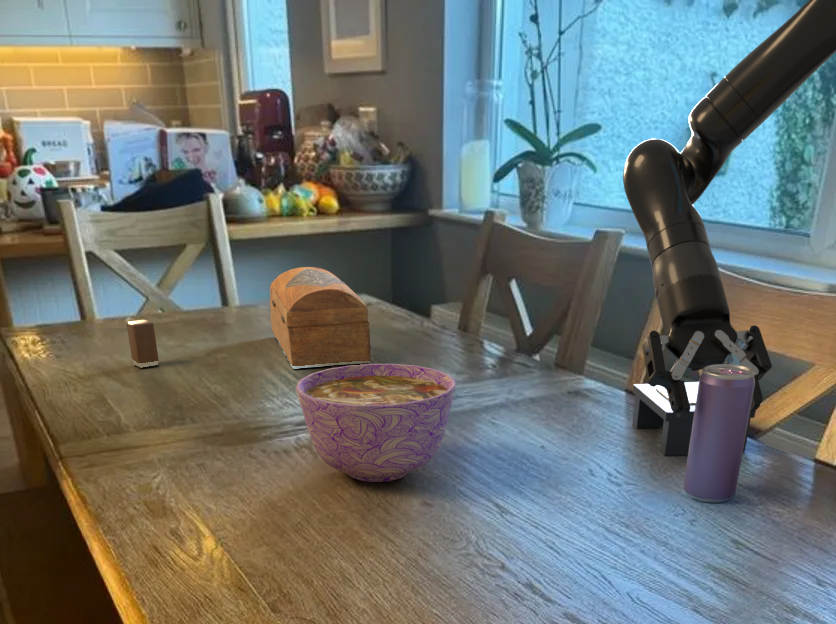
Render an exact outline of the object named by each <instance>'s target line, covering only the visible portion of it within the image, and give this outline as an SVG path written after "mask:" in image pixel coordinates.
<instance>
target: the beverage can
mask: <svg viewBox="0 0 836 624" xmlns="http://www.w3.org/2000/svg"><path fill="white" fill-rule="evenodd" d="M754 375H755V371H754V370H753V369H751V368H748V367H745V366H740V365H731V364H714V365H708V366H705V367H704V368H703V369H701V374H700V376H699V379H698V382H699V384H698V391H697V398H696V405H695V411H694V418H693V425H692V432H691V438H690V445H689V452H688V455H687V459H686V466H685V472H684V480H683V485H682V487H683V488H682V489H683V491H684V493H685V495H686V496H687V497H688V498H690V499H692V500H694V501H697V502H702V503H708V504H709V503H710V504H718V503H724V502H727V501H729V500H731V499H732V498H733V497H734V495H735V494H736V493H737V486H738V482H739V481H738V480H739V476H740V469H741V464H742V459H743V458H742V457H743V448H744V442H745V436H746V431H747V425H748V420H749V414H750V408H751V403H752V397H753V392H754V386H755V379H754Z"/></svg>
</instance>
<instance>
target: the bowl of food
mask: <svg viewBox="0 0 836 624" xmlns="http://www.w3.org/2000/svg"><path fill="white" fill-rule="evenodd" d="M456 381H457V380H456V379H455V378H454V377H452V376H451V375H449V374H448V373H446V372H443V371H441V370H438V369H435V368H431V367H425V366H419V365H414V364H413V365H412V364H400V363H399V364H398V363H370V364H360V365H346V366H336V367H331V368H327V369H323V370H320V371H317V372H312V373H310V374H308V375H306V376H304V377H303V378H301V379H299V380H298V382H297V384H296V385H295V390H296V391H295V392H296V394H297V397H298V401H299V404H300V408H301V410H302V413H303V417H304V421H305V424H306V427H307V431H308V432H309V433H308V434H309V436H310V439H311V441H312V445H313V447H314V449H315V451H316V453H317V455H319V457H320V458H321V459H322V460H323V462H324V463H325V464H326V465H328V466H329V467H331V468H333V469H335V470H336V471H339V472H341V473H343V474H346V475H348V476H349V477H350V478H352V479H355V480H358V481H361V482H369V483H370V482H371V483H382V482H391V481H396V480H400V479H402V478H404V477H406V476H407V475H408V474H409V473H412V472H414V471H416V470H418V469H420V468H421V467H423V466H425V465H427V464H428V463H429V462H430V461H431V460H432V459H433V458H434V456H435V455H436V454H437V452H438V451H439V450H440V448H441V446H442V443H443V438H444V435H445V432H446V428H447V424H448V420H449V416H450V412H451V408H452V403H453V400H454V396H455V392H456V387H457V386H456Z"/></svg>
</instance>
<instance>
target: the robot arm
mask: <svg viewBox="0 0 836 624" xmlns="http://www.w3.org/2000/svg"><path fill="white" fill-rule="evenodd" d="M835 54H836V0H808V1H806V3H804V5H802V6H801V7H800V8H799V9H798V10H797V11H796V12H795V13H794V14H793V15H792V16H791V17H789V18H788V19H787V20H786V21H785V22H784V23H783V24H781V26H780V27H778V28H777V29H776V30H775V31H774V32H773V33H771V34H770V35H769V36H768V37H766V39H764V40H763V41H762V42H760V44H758V45H757V46H756V47H755V48H754V49H753V50H751V52H749V53H748V54H747V55H746V56H745V57H744V58H743V59H742V60H740V62H739V63H737V64H736V65H735V66H734V67H733V68H732V69H731V70H730V71H729V72H728V73H727V74H726V75H725V76H724V77H723V78H722V79H721V80H720V81H719V82H718V83H716V85H714V86H713V88H712V89H711V90H710V91H709V92H708V93H707V94H706V95H705V96H704V97H703V98H702V99H701V100H700V101H698V103H697V104H696V105H695V106H694V107H693V108H692V110H691V112H690V114H689V115H688V124H689V128H690V131H691V135H690V136H691V137H690V138H689V140H688V141H687V143H686V144H685V146H684V148H683V149H682V150H681V152H679V150H678V149H677V148H676V147H675V146H674V145H673V144H672V143H670V142H669V141H667V140H664V139H661V138H649V139H647V140H646V139H645V140H644V141H641V142H640V143H639V144H637V145H636V146H635V147H634V148H632V150H631V152H630V153H629V154H628V156H627V158H626V160H625V163H624V166H623V174H622V184H623V190H624V193H625V196H626V199H627V201H628V204H629V206H630V208H631V211H632V213H633V215H634V218H635V221H636V222H637V225H638V226H639V229H640V231H641V232H642V235H643V238H644V240H645V245H646V250H647V255H648V258H649V263H650V267H651V272H652V282H653V284H652V285H653V290H654V296H655V298H656V303H657V306H658V310H659V314H660V318H661V322H662V326H663V331H664V334H665V335H663V334H661V335H660V333H659V332H658V331H657V330H651V331H650V332H649V333H648V335H647V336H646V338H645V340H644V341H643V343H642V345H641V348H642V354H643V361H644V367H645V373H646V377H647V379H646V380H647V384H649V385H650V386H653V387H654V386H657V385H659V386H662V387H664V388H665V389H666V390H667V394H668V398H669V401H670V406H671V410H672V411H673V413H676V415H677V417H678V418H680V417H685V416H686V415H687V414H688V412H689V411H690V403H689V399H688V395H687V391H686V387H685V380H682V378H683V376H684V375H685V372H686V370H687V369H690V370H691V372H696V371H702V369H703V368H704V367H705V366H708V365H714V364H731V365H740V366H745V367H748V368H751V369H753V370H754V371H755V375H754V379H755V386H754V392H753V397H752V403H751V408H750V413H754V412H755V411H756V412H757V410H758V409H759V408H760V407H761V404H762V403H763V399H764V396H763V393H762V389H761V386H760V385H761V384H760V380H762V379H763V377H764V376H765V375H766V374H767V373H768V372H769V371H770V370H772V368H773V364H772V362H771V358H770V356H769V353H768V350H767V347H766V344H765V341H764V337H763V334H762V332H761V329H760V327H759V326H758V325H755V324H753V325H750V327H749V328H748V329H746V330H739V331H736V329H735V328H734V327H733V326H732V324H731V314H730V309H729V308H730V307H729V304H728V299H727V296H726V293H725V288H724V285H723V281H722V277H721V274H720V273H721V272H720V270H719V267H718V263H717V261H716V258H715V256H714V254H713V252H712V248H711V244H710V241H709V237H708V233H707V229H706V227H705V223H704V221H703V218H702V216H701V214H700V212H699V211H698V210H697V209H696V208H695V206H694V204H695V203H696V202H697V201H698V200H699V199H700V197H701V196H702V195H704V193H705V191H706V190H707V188H708V187H709V186H710V184H711V183H712V181H713V180H714V178H715V177H716V176H717V174H718V173H719V172H720V170H721V169H722V167H723V166H724V164H725V163H726V161H727V160H728V158H729V157H730V155H731V154H732V152H733V151H734V150H735V149H736V148H737V147H739V145H741V144H742V143H743V142H745V140H746V139H747V138H748V137H749V136H750V135H752V133H753V132H755V131H756V130H757V129H758V128H759V127H760V126H761V125H763V123H764V122H765V121H767V119H768V118H769V117H770V116H771V115H773V113H775V112H776V110H778V109H779V108H780V106H782V105H783V104H784V103H785V102H786V101H787V100H788V99H789V98H790V97H791V96H792V95H793V94H794V93H795V92H796V91H797V90H798V89H799V88H800V87H801V86H802V85H803V84H804V83H805V82H806V81H807V80H808V79H809V78H811V76H812V75H813V74H814V73H816V71H817V70H819V68H820V67H821V66H822V65H823V64H824V63H825V62H827V61H828V60H829V59H830V58H831V57H832V56H833V55H835ZM665 348H666V349H667V351H668V352H669V353H670V354H672V355H673V356H674V357H675V358H676V360H675V362H674V364H673V366H672V368H671V369H670V371H669V370H667V369H666V364H665V359H664V351H665ZM729 356H730V357H731V358H732V361H731V362H729V361H728V358H729ZM756 412H755V413H756Z"/></svg>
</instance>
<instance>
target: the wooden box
mask: <svg viewBox="0 0 836 624" xmlns="http://www.w3.org/2000/svg"><path fill="white" fill-rule="evenodd" d="M269 296H270V298H269V305H270V324H271V330H273V331H272V333H273V332H274V334H275V336H276V338H277V339H278V341H279V343H280V345H281V347H282V349H283V350H284V352H285V354H286V356H287V358H288V360H289V362H290V364H291V365H292V366H305V365H315V364H326V363H339V362H352V361H372V360H371V359H372V357H371V356H372V355H371V354H372V352H371V324H370V323H371V322H370V321H369V309H368V306H367V304H365V302H364V301H363V300H362V299H361V297H360V296H359V295H358V294H357V293H355V292H354V290H353V289H351V287H349V286H348V285H347V284H346V283H345V281H344V282H343V281H342V280H341V279H340V278H339V277H338V276H337V275H335V274H334V273H332V272H331V271H328V270H326V269H324V268H321V267H316V266H302V267H295V268H292V269H289V270H286V271H285V272H282V273H281V274H279V275H278V276H277V277H276V278H275V279H274V280H273V281H272V282H271V284H270V285H269Z"/></svg>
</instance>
